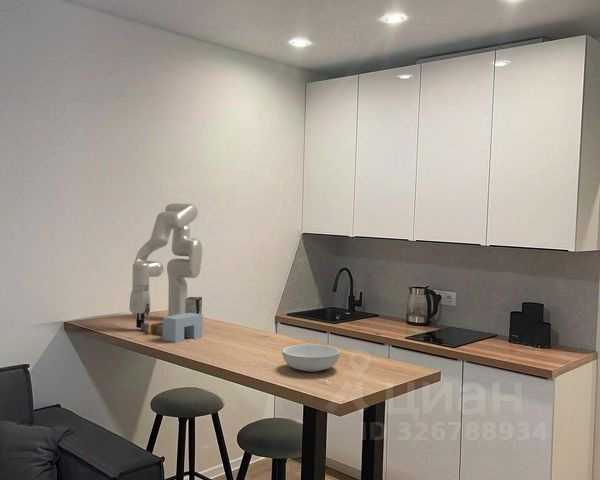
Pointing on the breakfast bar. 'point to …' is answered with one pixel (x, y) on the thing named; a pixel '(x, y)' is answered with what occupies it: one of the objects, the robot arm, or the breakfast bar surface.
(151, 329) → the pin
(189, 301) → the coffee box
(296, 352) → the serving bowl
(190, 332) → the cross-hole block
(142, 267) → the robot arm
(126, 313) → the breakfast bar surface
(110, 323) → the breakfast bar surface
